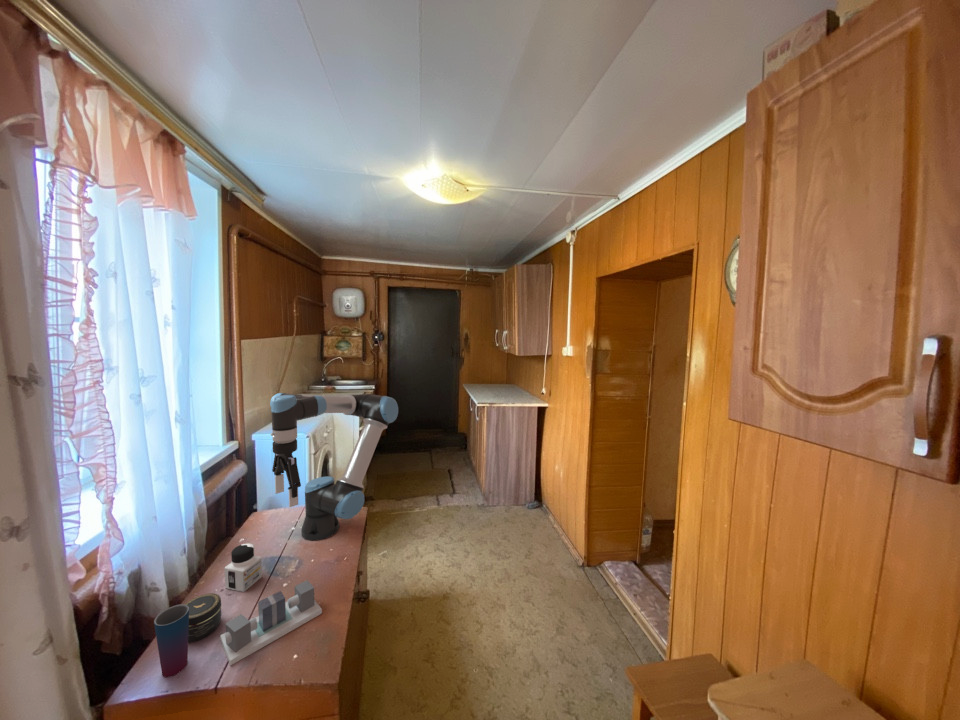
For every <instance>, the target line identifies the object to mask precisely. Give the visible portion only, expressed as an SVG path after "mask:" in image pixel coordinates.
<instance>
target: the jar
mask: <svg viewBox="0 0 960 720" xmlns="http://www.w3.org/2000/svg"><path fill="white" fill-rule="evenodd" d="M221 599H222V598H221V596H220V595H219V594H218V593H212V592H211V593H204V594H200V595H198V596H196V597H193V598H192V599H190V600H188V601H187V602H186V603H185V605H187V606H188V607H189V629H188V643H191V642H196V641H201V640H202V639H205V638H207V637H208V636H210V635H211V634H213V632H214V631H216V630H217V628H218V627H219V625H220V623H221V620H222V600H221Z"/></svg>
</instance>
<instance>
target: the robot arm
mask: <svg viewBox="0 0 960 720" xmlns="http://www.w3.org/2000/svg"><path fill="white" fill-rule="evenodd" d="M269 405H270V413H271V426H272V427H271V428H272V429H271V430H272V432H271V433H270V436H272V441H273V442H272V452H273V454H274V457H273V464H272V469H271V470H272V473H273V475H274V488H275V489H274V492H275V494H280V493H283V492H285V480H284V479H285V475H286V479H287V482H288V485H289V486H288V487H287V490H288V507H289V508H292V507H295V506H299V488H301V486H302V483H301V478H300V473H299V469H298V468H299V467H298V464H297V463H298V462H297V457H296V456H295V457H294V455H293V453H294V452H296V451H297V450H298V421H301V420H306V419H310V418H314V417H318V416H321V415H323V414H343V415H345V416H354V417H358V418H361V419H362V421H363V423H364V425H363V427H362V429H361V432H360V434H359V437H358V439H357V441H356V444H355V446H354V447H353V451H352V453H351V456H350V458H349V460H348V463H347V465H346V467H345V470H344V471H343V475H342V476H341V477H339V478H337V480H336V482H335V478H334V477H333V476H329V475H328V476H320V477H316V478H313V479H311V480H310V481H308V482H306V484H305V487H304V502H305V503H304V505H305V506H304V508H305V517H304V520H303V522H302V526H301V529H300V531H301V534H300V535H301V538H303V539H304V540H308V541H321V540H324V539H328V538H330V537H331V536H333V535H335V534H336V533H338V531H339V528H340V522H339V519H344V520H351V519H353V518H354V517H355V516H357V515H358V514H359V513H360V512H361V510H362V508H363V507H364V505H365V494H364V493H363V492H364V491H363V490H364V487H365V486H364V485H363V481H364V478H365V476H366V474H367V471H368V468H369V466H370V464H371V461H372V459H373V456H374V453H375V450H376V448H377V445H378V443H379V441H380V438H381V435H382V433H383V431H384V430H386V429H388V426H389V424H391V423H394V422H395V421H396V420H397V417H398V415H399V406H398V403H397V401H396V399H395V398H393V397H391V396H387V395H378V394H377V395H376V394H370V393H362V394H345V395H344V396H342V395H322V394H321V395H318V394H297V393H286V392H279V393H276V394H274V395H273V396H272V397H271V399H270V402H269Z"/></svg>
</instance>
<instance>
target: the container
mask: <svg viewBox="0 0 960 720" xmlns="http://www.w3.org/2000/svg"><path fill="white" fill-rule="evenodd" d="M230 556H231V562H230V563H229V564H227V565H226V566H225V567H224V584H225V585H224V587H225V589H228V590H233V591H237V592H241V593H242V592H243V593H245V592H246V591H247V590H248V589H249V588H251V587H252V586H253V585H254V584H255V583H257V582H258V580H260V579H261V578H262V577H263V572H262V568H263V567H262V557H261V556H258V555H255V545H254V544H252V543H242V544H240V545H237V546H235V547H234V548H233V549H232V551H231V554H230Z"/></svg>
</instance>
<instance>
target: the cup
mask: <svg viewBox="0 0 960 720" xmlns="http://www.w3.org/2000/svg"><path fill="white" fill-rule="evenodd" d="M185 604H186V603H185ZM185 604H183V603H181V604H176V605H173V606H170V607H167V608H166V609H164V610H163V611H161V612H160V613H158V615H156V617H155V618H154V620H153V624H154V625H153V626H154V630H155V636H156V637H155V638H156V642H157V649H158V656H159V662H160V668H161V669H160V670H161V676H162V677H163V678H172V677H173V676H177V675H178V674H180V673H181V672H183V670H184V669H185V668H186V666H187V665H188V662H189V661H188V659H189V658H188V657H189V656H188V655H189V654H188V653H189V642H188V629H189V607H188V606H187V605H185ZM171 676H172V677H171Z"/></svg>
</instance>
